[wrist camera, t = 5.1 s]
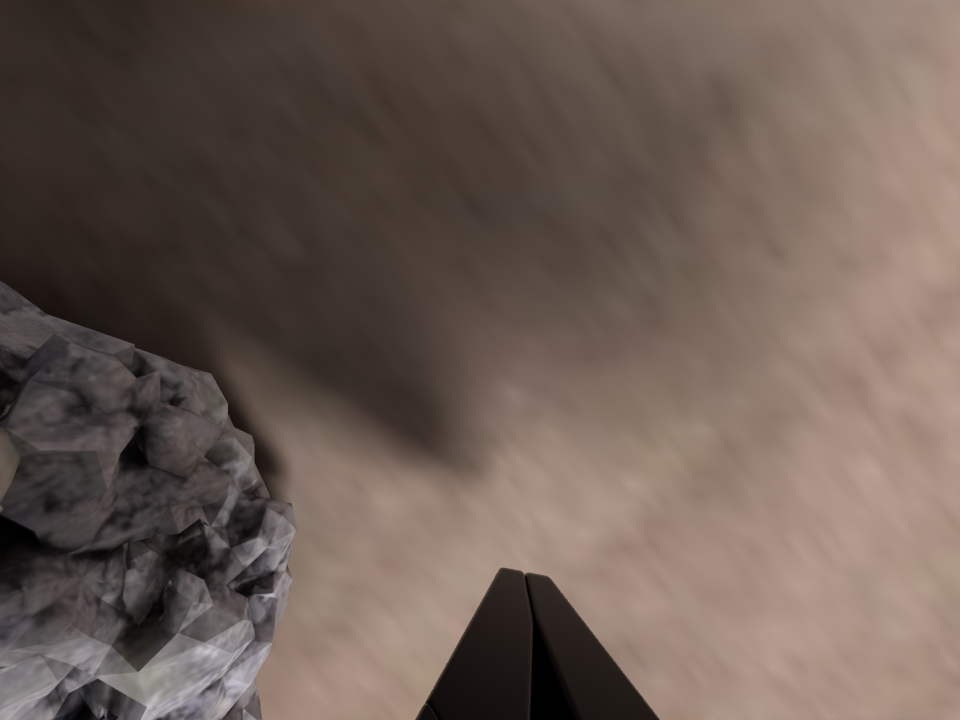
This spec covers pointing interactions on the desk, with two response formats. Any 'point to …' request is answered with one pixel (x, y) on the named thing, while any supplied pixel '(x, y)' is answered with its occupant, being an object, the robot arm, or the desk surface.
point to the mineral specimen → (128, 533)
